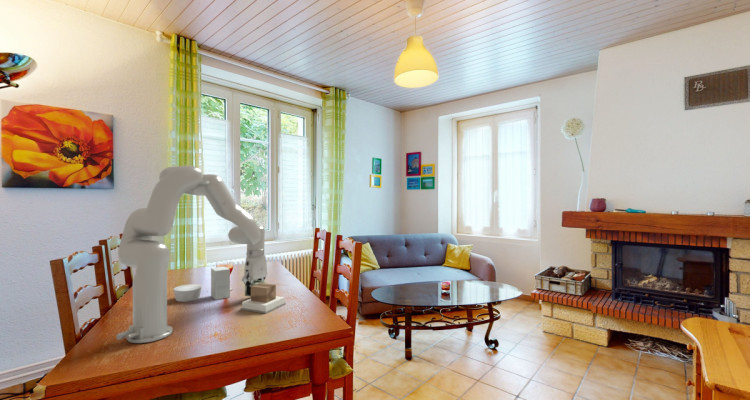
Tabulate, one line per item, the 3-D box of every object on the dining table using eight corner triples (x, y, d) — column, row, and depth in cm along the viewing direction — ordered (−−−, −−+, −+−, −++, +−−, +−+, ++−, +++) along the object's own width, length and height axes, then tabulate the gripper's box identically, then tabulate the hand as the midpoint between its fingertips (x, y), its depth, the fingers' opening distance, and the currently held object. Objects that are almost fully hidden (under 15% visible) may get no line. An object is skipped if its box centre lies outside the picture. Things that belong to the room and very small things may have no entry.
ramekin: (193, 303, 148) (193, 290, 148) (167, 302, 148) (167, 290, 148) (206, 295, 159) (206, 284, 159) (182, 295, 160) (182, 283, 159)
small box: (230, 297, 156) (230, 269, 156) (215, 300, 152) (215, 270, 152) (225, 293, 162) (225, 266, 162) (210, 295, 158) (210, 267, 158)
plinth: (266, 313, 135) (266, 306, 135) (240, 309, 140) (240, 302, 140) (285, 304, 147) (285, 297, 147) (261, 300, 151) (261, 293, 151)
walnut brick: (266, 302, 139) (266, 288, 139) (250, 300, 142) (250, 286, 142) (275, 298, 144) (275, 284, 144) (260, 296, 147) (260, 282, 147)
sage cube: (255, 297, 150) (255, 283, 150) (244, 295, 152) (245, 282, 152) (264, 294, 156) (264, 280, 156) (254, 292, 158) (254, 279, 158)
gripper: (248, 256, 145) (247, 299, 145) (274, 251, 161) (273, 289, 161) (234, 255, 148) (234, 297, 147) (261, 250, 164) (261, 288, 163)
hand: (254, 292), depth 154 cm, fingers closed on sage cube, 6 cm apart
